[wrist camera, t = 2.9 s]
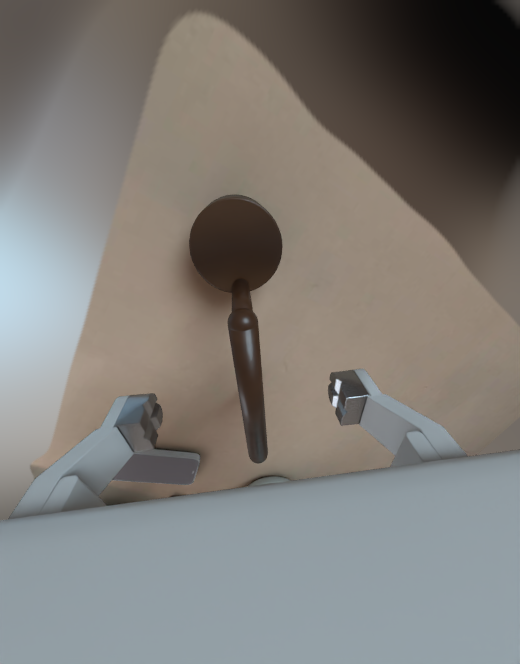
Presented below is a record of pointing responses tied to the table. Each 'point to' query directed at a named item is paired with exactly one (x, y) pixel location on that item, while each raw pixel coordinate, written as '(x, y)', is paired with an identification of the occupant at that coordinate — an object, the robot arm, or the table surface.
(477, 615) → the robot arm
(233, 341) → the ladle
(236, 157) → the table surface
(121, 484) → the table surface
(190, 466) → the smartphone
